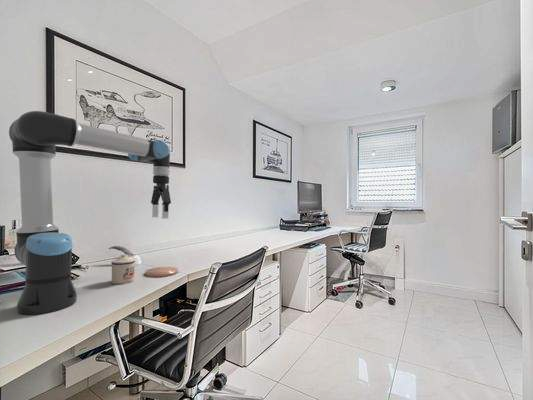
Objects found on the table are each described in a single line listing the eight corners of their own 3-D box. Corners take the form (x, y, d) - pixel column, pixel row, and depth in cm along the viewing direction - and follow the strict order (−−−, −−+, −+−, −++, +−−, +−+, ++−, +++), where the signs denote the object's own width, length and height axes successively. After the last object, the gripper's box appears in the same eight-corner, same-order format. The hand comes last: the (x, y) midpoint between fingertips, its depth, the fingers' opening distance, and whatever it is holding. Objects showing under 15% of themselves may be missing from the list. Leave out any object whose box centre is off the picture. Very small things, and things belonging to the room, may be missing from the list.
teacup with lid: (125, 285, 110) (126, 256, 110) (105, 283, 111) (106, 256, 111) (142, 277, 122) (143, 251, 122) (124, 276, 123) (125, 251, 123)
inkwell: (137, 265, 143) (138, 247, 143) (102, 266, 141) (103, 247, 141) (144, 262, 152) (144, 244, 152) (111, 262, 151) (111, 244, 151)
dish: (155, 279, 118) (155, 276, 119) (139, 273, 128) (139, 270, 128) (184, 272, 130) (184, 270, 130) (167, 267, 140) (167, 265, 140)
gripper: (178, 174, 126) (177, 218, 126) (159, 178, 145) (158, 216, 144) (163, 173, 121) (161, 219, 121) (145, 176, 140) (144, 216, 139)
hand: (160, 217), depth 132 cm, fingers open, 13 cm apart
